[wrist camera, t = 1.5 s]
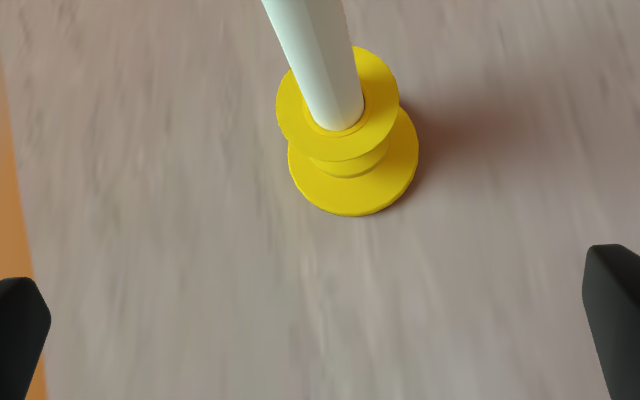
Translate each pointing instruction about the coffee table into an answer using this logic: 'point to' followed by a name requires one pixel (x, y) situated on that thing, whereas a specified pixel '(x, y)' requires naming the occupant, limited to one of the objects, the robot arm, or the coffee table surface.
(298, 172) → the candle
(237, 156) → the coffee table surface
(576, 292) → the coffee table surface
